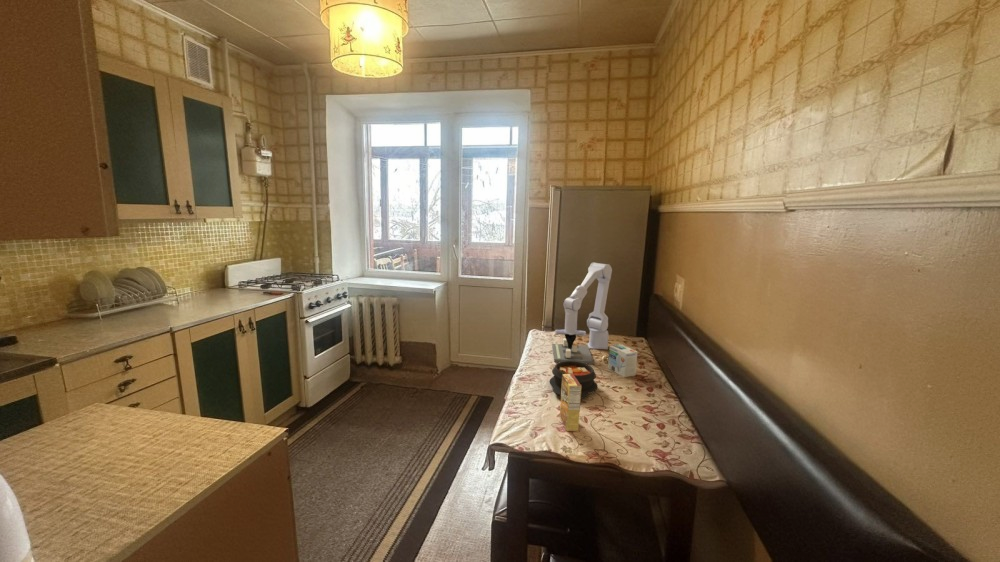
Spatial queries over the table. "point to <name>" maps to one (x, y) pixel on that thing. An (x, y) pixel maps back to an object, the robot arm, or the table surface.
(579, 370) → the casserole
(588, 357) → the breaker panel
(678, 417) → the table surface
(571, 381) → the candy box
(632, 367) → the light bulb box
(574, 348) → the handle
